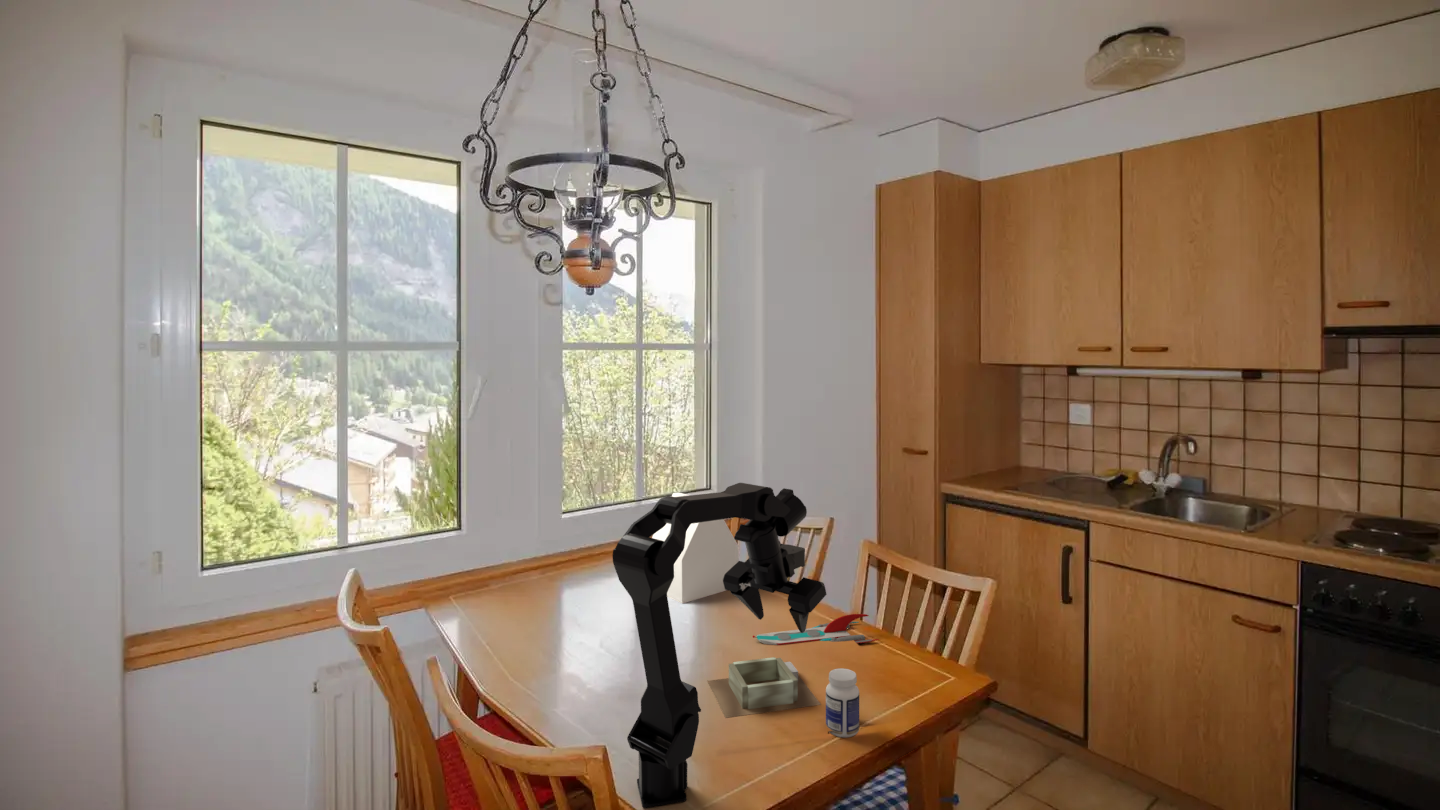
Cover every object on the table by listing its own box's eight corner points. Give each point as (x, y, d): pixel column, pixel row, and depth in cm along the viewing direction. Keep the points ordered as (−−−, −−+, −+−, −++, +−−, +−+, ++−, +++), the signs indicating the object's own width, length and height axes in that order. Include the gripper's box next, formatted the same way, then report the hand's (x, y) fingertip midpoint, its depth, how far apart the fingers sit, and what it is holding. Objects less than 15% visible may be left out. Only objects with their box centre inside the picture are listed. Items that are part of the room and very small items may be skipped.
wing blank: (783, 683, 136) (783, 673, 136) (776, 673, 140) (776, 663, 140) (798, 681, 137) (798, 671, 137) (790, 671, 141) (790, 661, 141)
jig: (725, 723, 124) (725, 695, 123) (707, 685, 137) (706, 660, 137) (821, 709, 128) (821, 683, 128) (794, 674, 142) (794, 650, 141)
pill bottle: (855, 720, 125) (855, 666, 124) (862, 738, 119) (863, 681, 118) (822, 721, 125) (823, 666, 124) (828, 739, 119) (829, 682, 118)
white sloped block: (682, 604, 181) (681, 507, 178) (648, 588, 192) (647, 497, 190) (738, 587, 193) (738, 497, 191) (703, 573, 205) (702, 488, 203)
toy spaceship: (766, 669, 149) (764, 645, 148) (747, 647, 159) (745, 625, 159) (880, 642, 157) (879, 620, 157) (854, 623, 168) (853, 602, 167)
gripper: (834, 535, 121) (849, 610, 126) (749, 518, 133) (766, 587, 138) (799, 572, 113) (816, 650, 118) (712, 550, 125) (731, 621, 131)
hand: (781, 624), depth 127 cm, fingers open, 9 cm apart
